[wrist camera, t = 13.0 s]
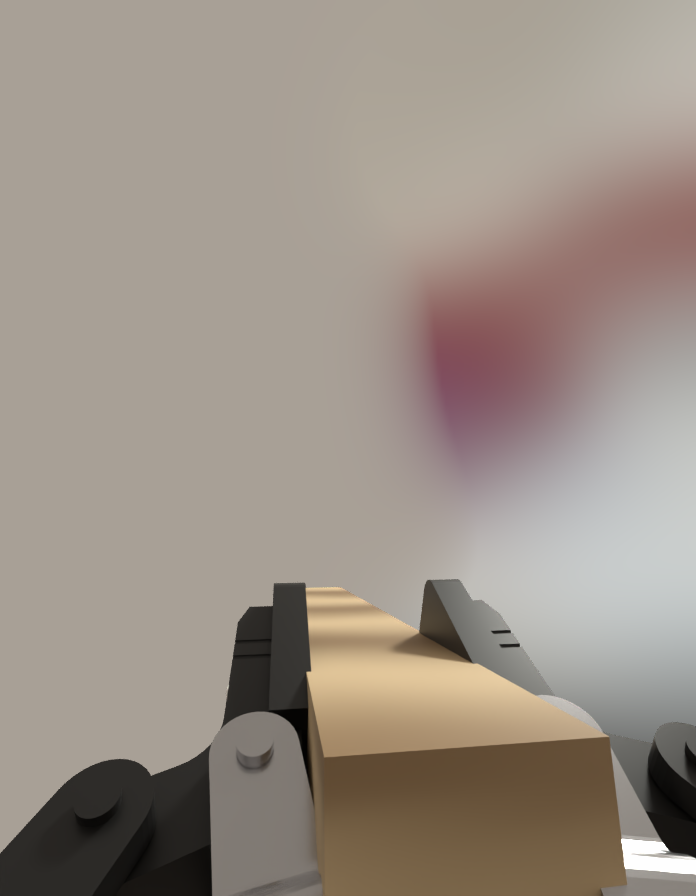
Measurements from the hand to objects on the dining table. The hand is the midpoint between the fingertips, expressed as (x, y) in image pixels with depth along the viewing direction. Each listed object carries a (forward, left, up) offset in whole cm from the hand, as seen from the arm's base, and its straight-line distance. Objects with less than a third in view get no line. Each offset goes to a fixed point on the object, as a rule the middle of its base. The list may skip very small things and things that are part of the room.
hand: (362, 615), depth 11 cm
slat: (-3, +4, -2) cm, 6 cm away
